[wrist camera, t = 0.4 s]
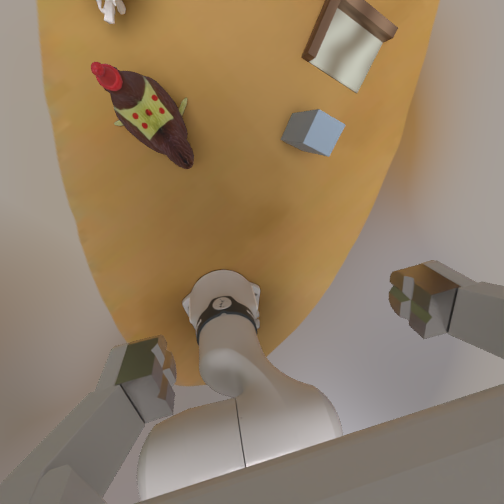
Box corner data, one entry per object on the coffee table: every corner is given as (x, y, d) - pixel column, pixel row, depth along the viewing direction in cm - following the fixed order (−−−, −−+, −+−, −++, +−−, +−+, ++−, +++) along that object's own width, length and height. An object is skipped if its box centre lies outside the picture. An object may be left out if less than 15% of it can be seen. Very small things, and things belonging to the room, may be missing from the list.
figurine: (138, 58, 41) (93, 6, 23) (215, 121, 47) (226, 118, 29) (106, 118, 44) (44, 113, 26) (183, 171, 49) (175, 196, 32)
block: (314, 125, 50) (345, 124, 40) (302, 150, 52) (329, 156, 41) (292, 113, 49) (318, 109, 38) (280, 139, 50) (303, 143, 40)
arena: (386, 33, 46) (398, 27, 43) (356, 93, 49) (365, 91, 46) (330, -11, 42) (339, -21, 39) (301, 57, 45) (308, 52, 42)
